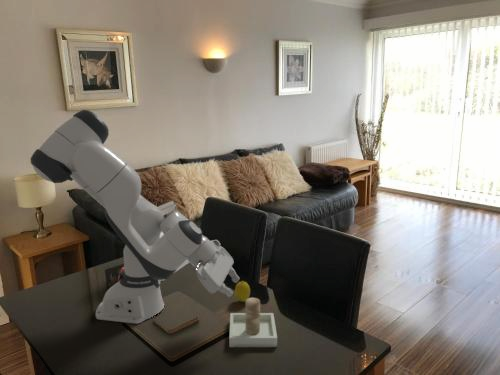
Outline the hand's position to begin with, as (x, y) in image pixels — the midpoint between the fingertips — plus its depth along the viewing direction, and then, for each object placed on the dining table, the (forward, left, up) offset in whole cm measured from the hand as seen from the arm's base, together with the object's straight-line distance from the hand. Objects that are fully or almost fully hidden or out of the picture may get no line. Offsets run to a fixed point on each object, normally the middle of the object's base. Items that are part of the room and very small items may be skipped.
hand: (234, 287), depth 125 cm
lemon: (+3, +18, -15) cm, 23 cm away
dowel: (+6, -2, -13) cm, 15 cm away
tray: (+6, -2, -14) cm, 16 cm away
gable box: (-30, +47, -15) cm, 58 cm away
